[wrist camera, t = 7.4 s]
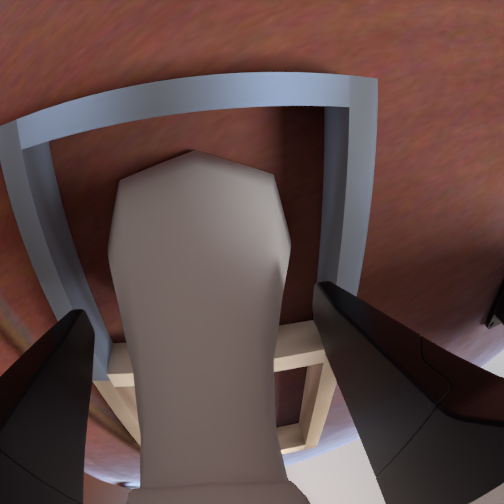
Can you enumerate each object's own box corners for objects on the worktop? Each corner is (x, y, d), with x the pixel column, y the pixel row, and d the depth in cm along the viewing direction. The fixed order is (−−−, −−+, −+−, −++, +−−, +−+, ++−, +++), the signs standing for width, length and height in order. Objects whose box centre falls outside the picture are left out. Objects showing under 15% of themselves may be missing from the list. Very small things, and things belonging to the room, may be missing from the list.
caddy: (349, 78, 9) (378, 78, 8) (310, 425, 21) (316, 446, 19) (23, 119, 8) (-6, 128, 6) (157, 444, 20) (158, 466, 18)
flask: (281, 308, 14) (356, 520, 6) (125, 316, 13) (97, 539, 5) (297, 149, 11) (537, 363, 2) (95, 156, 10) (-111, 394, 1)
